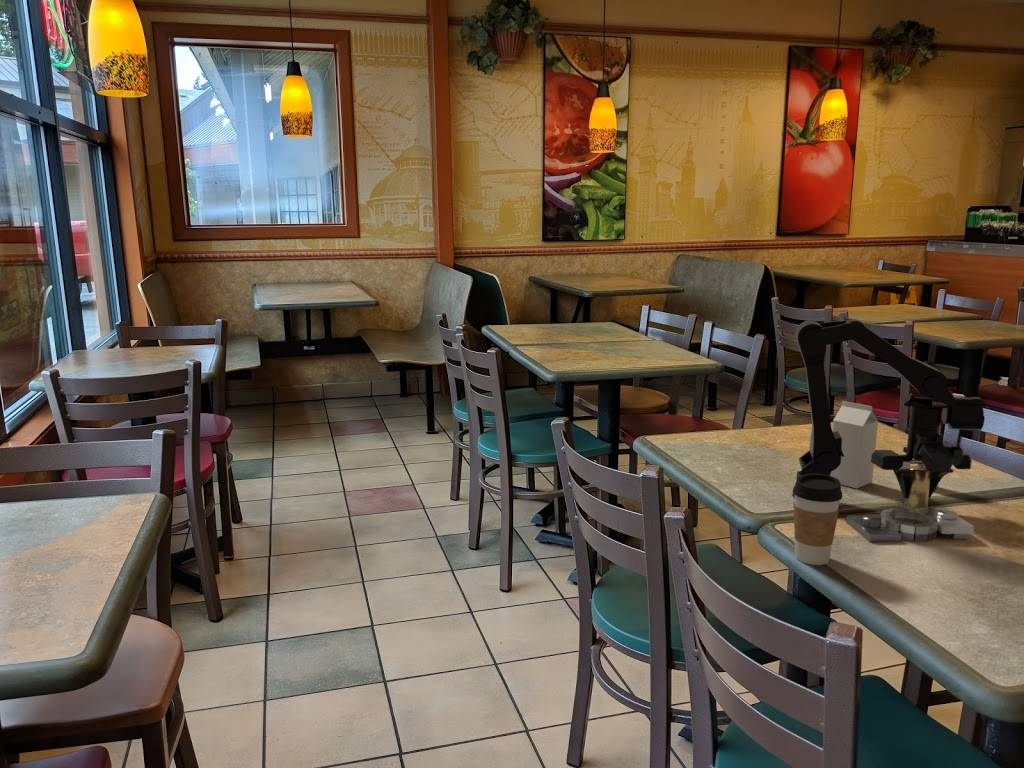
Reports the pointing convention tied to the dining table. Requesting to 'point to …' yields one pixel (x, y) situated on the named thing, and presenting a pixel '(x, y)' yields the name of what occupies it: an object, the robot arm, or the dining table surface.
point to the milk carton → (855, 444)
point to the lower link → (885, 529)
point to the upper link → (928, 522)
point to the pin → (918, 488)
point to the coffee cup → (815, 517)
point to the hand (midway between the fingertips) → (916, 498)
